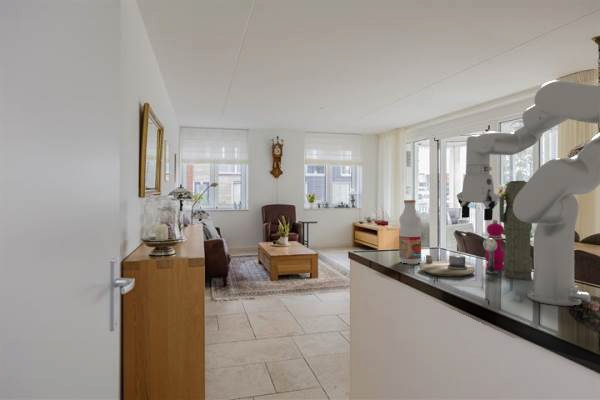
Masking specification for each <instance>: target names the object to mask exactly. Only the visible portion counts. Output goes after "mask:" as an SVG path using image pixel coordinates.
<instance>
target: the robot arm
mask: <svg viewBox="0 0 600 400" xmlns="http://www.w3.org/2000/svg"><path fill="white" fill-rule="evenodd" d="M533 101H534V104H533V105H531V106H530V107H528V108H526V109H525V110H524V111H523V113H522V115H521V116H522V117H521V119H522V123H523V124H524V125H523V126H521V127H519V128H518V129H516V130H515V131H513V132H504V131H503V132H502V131H488V132H485V133H481V134H477V135H476V134H475V135H469V136H468V137H467V139H466V153H465V155H466V156H465V157H466V158H465V159H466V161H465V174H464V177H463V183H462V190H461V192H459V193H457V195H456V198H457V201H458V203H459V206H460V207H461V218H462V219H467V218H468V219H469V218H470V204H471V203H472V204H473V203H475V204H483V206H484V207H485V208H484V210H483V211H484V212H483V220H484V221H493V214H494V213H493V211H494V209H495V207H496V206H497V204H498V202H499V201H500V196H501V195H498V194H497V193H495V188H494V180H493V175H492V174H490V171H492V166H490V165H491V159H490V158H491V156H512V155H516V154H519V153H521V152H523V151H525V150H527V149H530V148H531V147H533V146H534V145H535V144H536V143H537V142H539V140H540V139H541V138H542V136H543V134H544V133H546V132H547V131H549V130H552V129H553V128H555V127H557V126H559V125H560V124H562V123H564V122H566V121H567V120H568V121H569V120H573V121H578V122H583V123H587V124H597V125H600V85H593V84H587V83H585V84H584V83H580V82H575V81H568V80H562V79H561V80H559V79H557V80H556V79H555V80H551V81H548V82H546V83H544V84H542V86H541V87H540V88H539V89H538V90H537V91H536V93H535V96H534V100H533ZM526 182H527V183H526V184H525V185H524V187H523V188H522V189H521V190H520V191H519V193H518V194H517V196H516V197H515V199H514V202H513V212H514V214H515V216H516V217H517V218H518V219H519V220H521V221H523V222H525V223H533V224H537V225H536V227H535V230H534V232H533V233H534V235H533V290H529V291H528V292H527V297H528V299H530V300H532V301H534V302H537V303H542V304H547V305H554V306H559V307H562V306H563V307H573V306H574V305H576V306H580V305H581V304H582V301H583V302H586V303H590V302H591V300H592V296H591V294H590V293H588V292H583V291H580V290H579V287H580V286H579V285H575V234H576V233H575V232H576V224H577V220H578V215H579V203H578V199H577V197H575V195H576V196H577V195H585V194H589V193H591V192H593V191H594V190H595V189H597V188H598V187H599V185H600V132H599V133H597V134H596V135H594V136H593V137H592V138H591V139H590V140H589V141H588V142H587V143H586V144H585V145H584V147H583V148H582V149H581V150H580V151H579V152H578V153H576V154H575V156H573V157H558V158H552V159H550V160H548V161H546V162H545V163H543V164H541V166H539V167H538V169H537V170H536V171H535V172H534V173H533V175H532V176H531V177H530V178H529V179H528V180H527V181H526Z"/></svg>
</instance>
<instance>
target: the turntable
mask: <svg viewBox="0 0 600 400" xmlns="http://www.w3.org/2000/svg"><path fill="white" fill-rule="evenodd" d="M448 265H449V261H433V255H432V254H425V262H421V263H420V264H418V266H419V267H418V268H419V270H421V271H423V272H425V271H426V272H430V273H436V274H446V275H465V274H469V275H471V274H473V273H476V272H475V271H476V268H475V266H473V265H470V264H468V263H467V264H466V263H465V266H467V270H452V269H448ZM426 272H425V273H426Z"/></svg>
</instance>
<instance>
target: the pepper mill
mask: <svg viewBox="0 0 600 400" xmlns="http://www.w3.org/2000/svg"><path fill="white" fill-rule="evenodd" d="M498 222H499V221H498V220H497V219H492V223H489V224H488V225H487V227H486V232H487V233H488V235H487V236H488V238H492V239H494V240H495V241H496V242H497V248H496V250H494V271H496V270H497V271H502V270H504V256H505V252H504V250H503V248H502V247H503V246H502V239H503V235H502V234H503V233H504V232H505V230H504V225H502V224H500V223H498ZM484 257H485V260H486V262H487V263H486V269H487V270H489V251H485V256H484Z"/></svg>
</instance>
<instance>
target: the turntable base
mask: <svg viewBox="0 0 600 400" xmlns="http://www.w3.org/2000/svg"><path fill="white" fill-rule="evenodd" d="M424 272H425V273H426V274H429V275H433V276H438V277H447V278H460V277H461V278H462V277H467V276H469V275H470V274H465V275H446V274H436V273H430V272H426V271H424Z"/></svg>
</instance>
